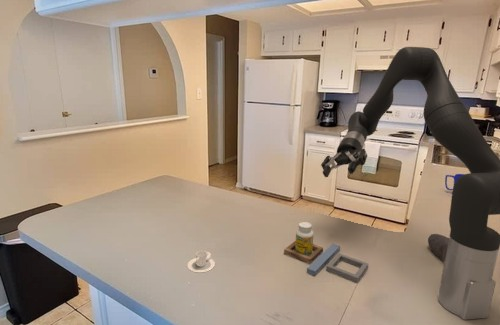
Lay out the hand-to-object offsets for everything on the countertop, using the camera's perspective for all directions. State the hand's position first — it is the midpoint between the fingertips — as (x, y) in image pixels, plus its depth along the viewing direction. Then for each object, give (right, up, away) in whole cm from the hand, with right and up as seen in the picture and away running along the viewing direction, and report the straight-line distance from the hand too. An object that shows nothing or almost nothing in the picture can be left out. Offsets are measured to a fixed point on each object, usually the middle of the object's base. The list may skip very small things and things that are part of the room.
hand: (337, 173), depth 94 cm
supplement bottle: (-10, -25, +1) cm, 27 cm away
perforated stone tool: (+33, -27, 0) cm, 43 cm away
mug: (+77, -13, +58) cm, 97 cm away
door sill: (-5, -26, -3) cm, 27 cm away
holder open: (+1, -28, -7) cm, 28 cm away
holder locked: (-10, -25, +1) cm, 27 cm away
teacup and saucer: (-39, -27, -5) cm, 47 cm away
